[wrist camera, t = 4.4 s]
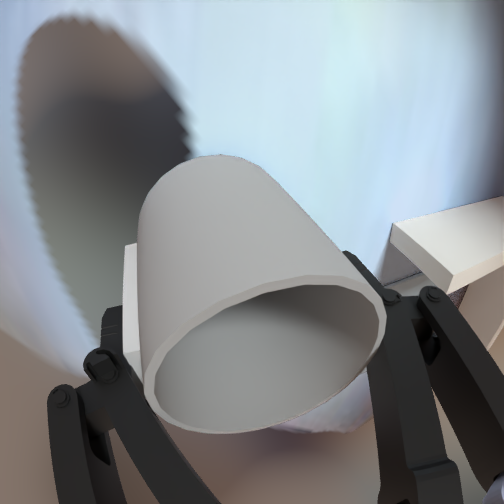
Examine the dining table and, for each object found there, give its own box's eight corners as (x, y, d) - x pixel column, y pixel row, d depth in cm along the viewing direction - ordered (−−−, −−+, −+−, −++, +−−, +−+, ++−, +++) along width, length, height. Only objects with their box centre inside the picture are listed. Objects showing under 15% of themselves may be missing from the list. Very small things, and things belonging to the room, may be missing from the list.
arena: (393, 222, 20) (453, 275, 15) (505, 195, 23) (550, 226, 18) (356, 368, 30) (385, 414, 25) (459, 318, 33) (488, 350, 28)
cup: (251, 123, 13) (376, 218, 6) (310, 275, 19) (388, 392, 12) (108, 201, 13) (83, 366, 6) (205, 328, 19) (246, 461, 12)
